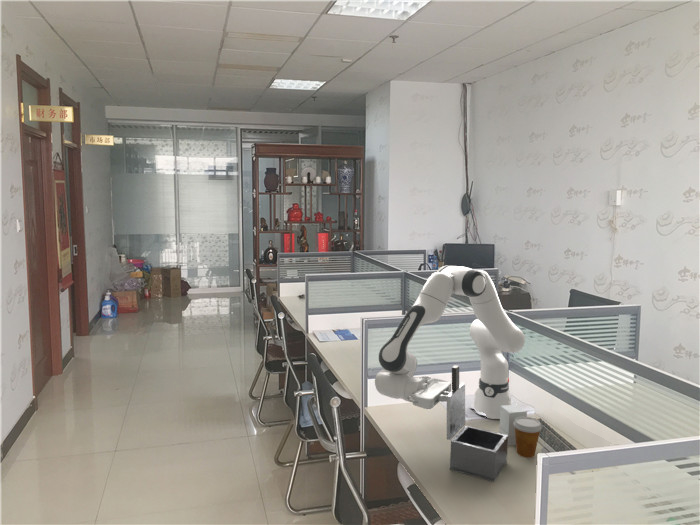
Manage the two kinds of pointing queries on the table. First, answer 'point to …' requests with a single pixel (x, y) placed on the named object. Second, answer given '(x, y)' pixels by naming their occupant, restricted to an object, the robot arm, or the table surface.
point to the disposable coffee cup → (526, 436)
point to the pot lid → (455, 405)
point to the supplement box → (510, 421)
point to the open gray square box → (479, 452)
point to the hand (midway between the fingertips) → (454, 398)
